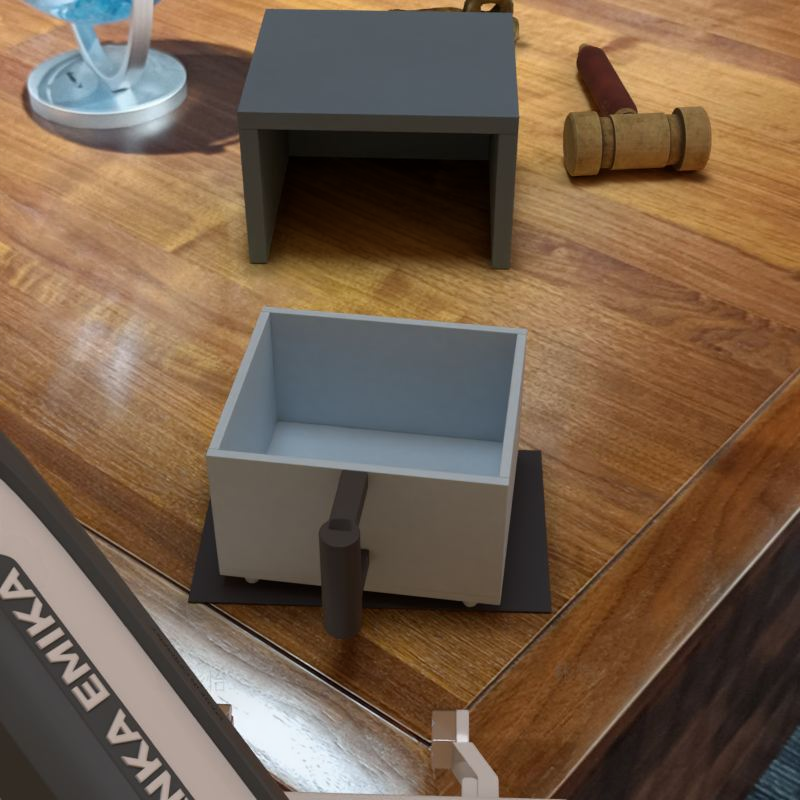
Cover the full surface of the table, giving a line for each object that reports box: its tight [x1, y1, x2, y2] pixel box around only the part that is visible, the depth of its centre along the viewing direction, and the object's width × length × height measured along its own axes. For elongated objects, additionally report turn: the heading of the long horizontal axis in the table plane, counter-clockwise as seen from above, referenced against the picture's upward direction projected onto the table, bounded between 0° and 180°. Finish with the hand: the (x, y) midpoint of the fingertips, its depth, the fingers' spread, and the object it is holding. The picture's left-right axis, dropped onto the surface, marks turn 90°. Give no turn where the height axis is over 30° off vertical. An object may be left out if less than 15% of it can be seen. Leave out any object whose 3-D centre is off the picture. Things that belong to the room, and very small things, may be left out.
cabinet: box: [236, 8, 520, 270], centre depth 93 cm, size 17×16×11 cm
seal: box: [387, 0, 520, 42], centre depth 116 cm, size 9×5×15 cm
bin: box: [205, 305, 528, 640], centre depth 67 cm, size 14×17×9 cm
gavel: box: [562, 42, 713, 177], centre depth 106 cm, size 21×5×10 cm
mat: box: [187, 449, 552, 614], centre depth 72 cm, size 18×12×1 cm, turn 88°
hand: (332, 715), depth 54 cm, fingers open, 8 cm apart
